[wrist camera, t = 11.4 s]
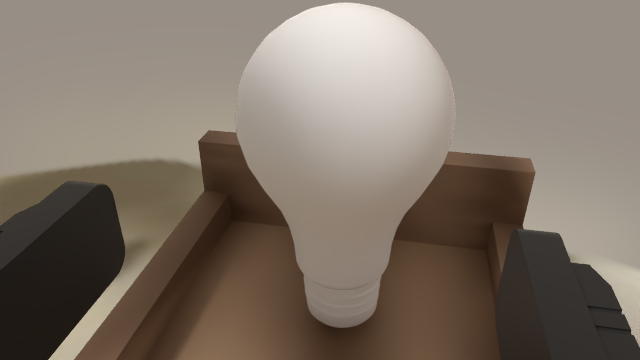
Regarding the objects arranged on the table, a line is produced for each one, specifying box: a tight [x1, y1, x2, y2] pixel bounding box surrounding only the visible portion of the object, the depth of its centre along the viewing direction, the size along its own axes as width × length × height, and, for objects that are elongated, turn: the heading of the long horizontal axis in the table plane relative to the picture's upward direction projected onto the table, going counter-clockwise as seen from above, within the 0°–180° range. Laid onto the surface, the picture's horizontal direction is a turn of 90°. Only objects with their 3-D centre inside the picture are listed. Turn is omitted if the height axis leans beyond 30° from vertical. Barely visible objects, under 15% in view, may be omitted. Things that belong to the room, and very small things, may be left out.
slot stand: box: [74, 130, 535, 360], centre depth 19 cm, size 14×11×8 cm
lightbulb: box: [235, 3, 456, 328], centre depth 16 cm, size 6×6×11 cm
